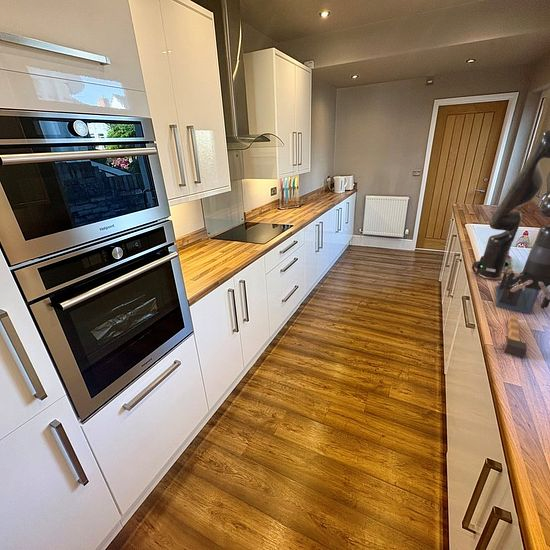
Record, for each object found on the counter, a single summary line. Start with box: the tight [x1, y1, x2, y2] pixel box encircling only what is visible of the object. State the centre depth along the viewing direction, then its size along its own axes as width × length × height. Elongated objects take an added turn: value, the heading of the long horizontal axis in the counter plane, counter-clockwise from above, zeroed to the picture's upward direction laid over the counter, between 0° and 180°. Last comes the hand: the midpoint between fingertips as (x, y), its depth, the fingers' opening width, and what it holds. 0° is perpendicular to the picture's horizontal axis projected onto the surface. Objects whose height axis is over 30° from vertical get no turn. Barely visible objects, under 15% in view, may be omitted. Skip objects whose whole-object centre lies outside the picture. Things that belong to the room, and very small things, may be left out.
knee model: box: [503, 252, 515, 272], centre depth 157 cm, size 9×8×25 cm
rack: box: [495, 271, 541, 315], centre depth 122 cm, size 20×11×14 cm, turn 145°
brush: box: [503, 314, 528, 359], centre depth 101 cm, size 22×5×3 cm, turn 145°
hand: (525, 304), depth 97 cm, fingers open, 8 cm apart
